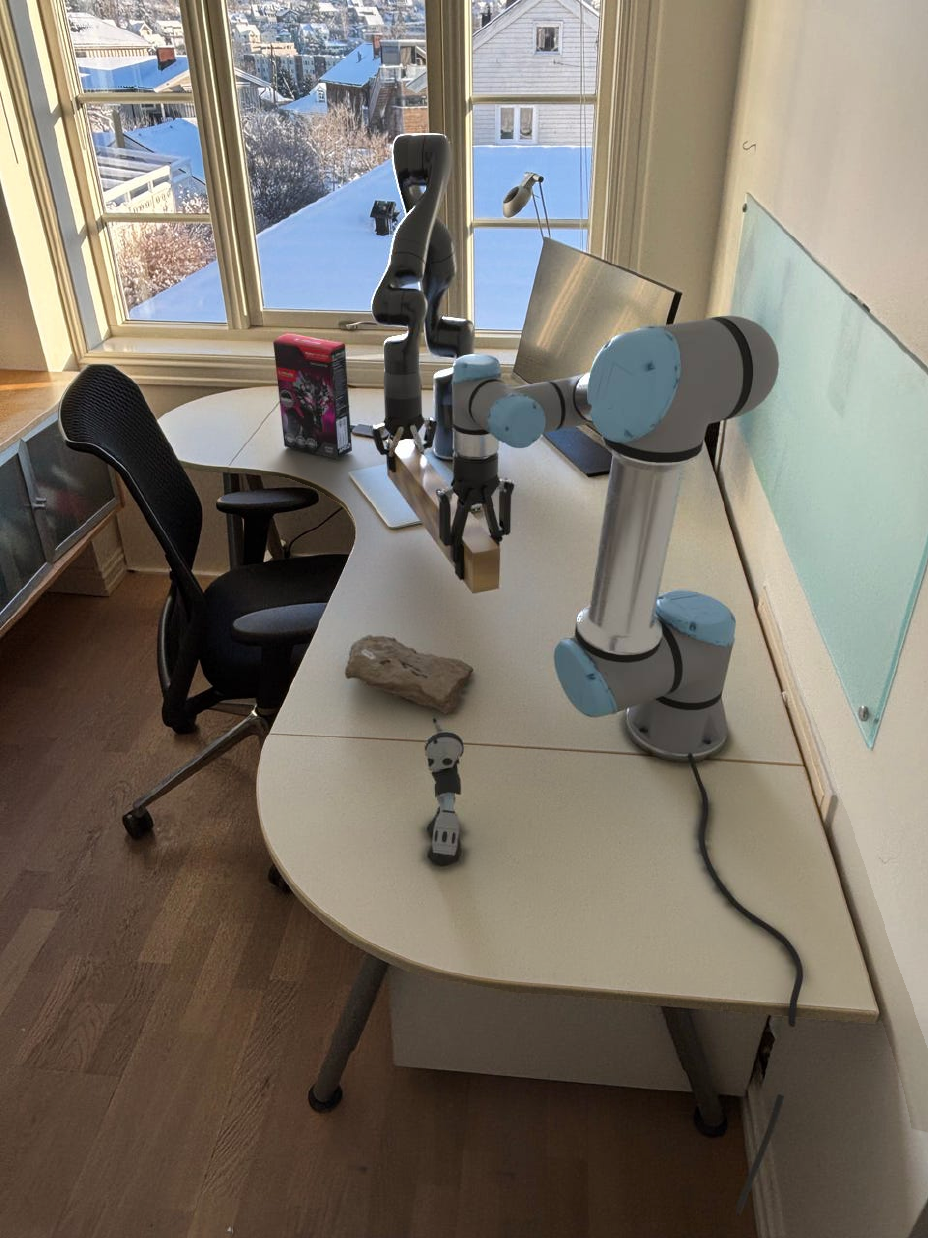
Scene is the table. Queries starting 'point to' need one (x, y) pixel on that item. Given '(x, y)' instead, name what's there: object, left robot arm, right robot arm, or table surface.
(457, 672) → the stone
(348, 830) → the table surface
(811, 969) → the table surface
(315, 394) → the graphics card box
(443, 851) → the robot
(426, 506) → the bar
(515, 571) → the table surface
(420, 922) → the table surface
